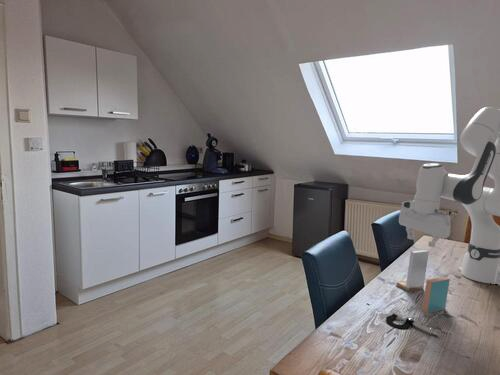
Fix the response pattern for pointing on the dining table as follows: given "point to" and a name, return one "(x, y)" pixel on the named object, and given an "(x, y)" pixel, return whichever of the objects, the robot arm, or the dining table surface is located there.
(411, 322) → the micrometer
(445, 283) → the tile
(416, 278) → the bookend
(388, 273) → the dining table surface
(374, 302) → the dining table surface
